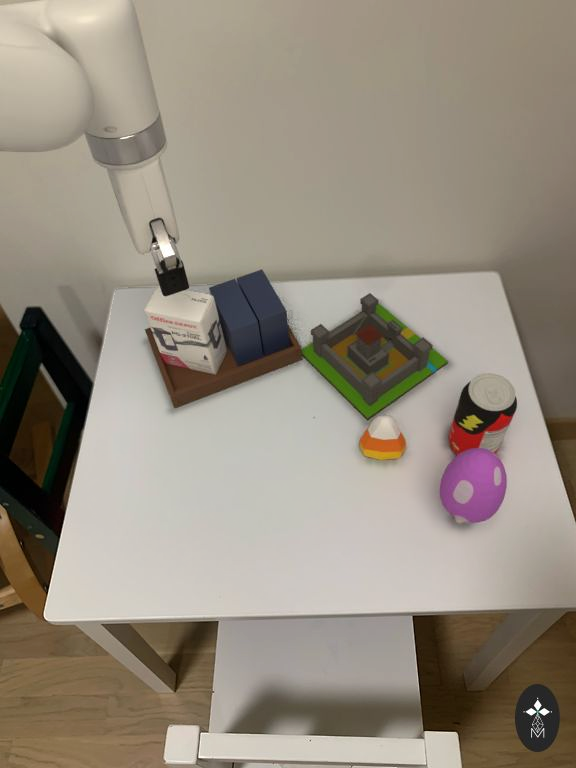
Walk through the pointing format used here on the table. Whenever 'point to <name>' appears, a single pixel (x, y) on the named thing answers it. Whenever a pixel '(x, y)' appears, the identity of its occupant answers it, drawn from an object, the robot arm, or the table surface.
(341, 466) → the table surface
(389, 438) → the candy corn
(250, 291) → the matching cartons
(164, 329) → the ink box
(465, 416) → the beverage can
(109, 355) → the table surface
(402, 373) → the castle model
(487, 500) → the toy
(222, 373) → the tray
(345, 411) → the table surface
